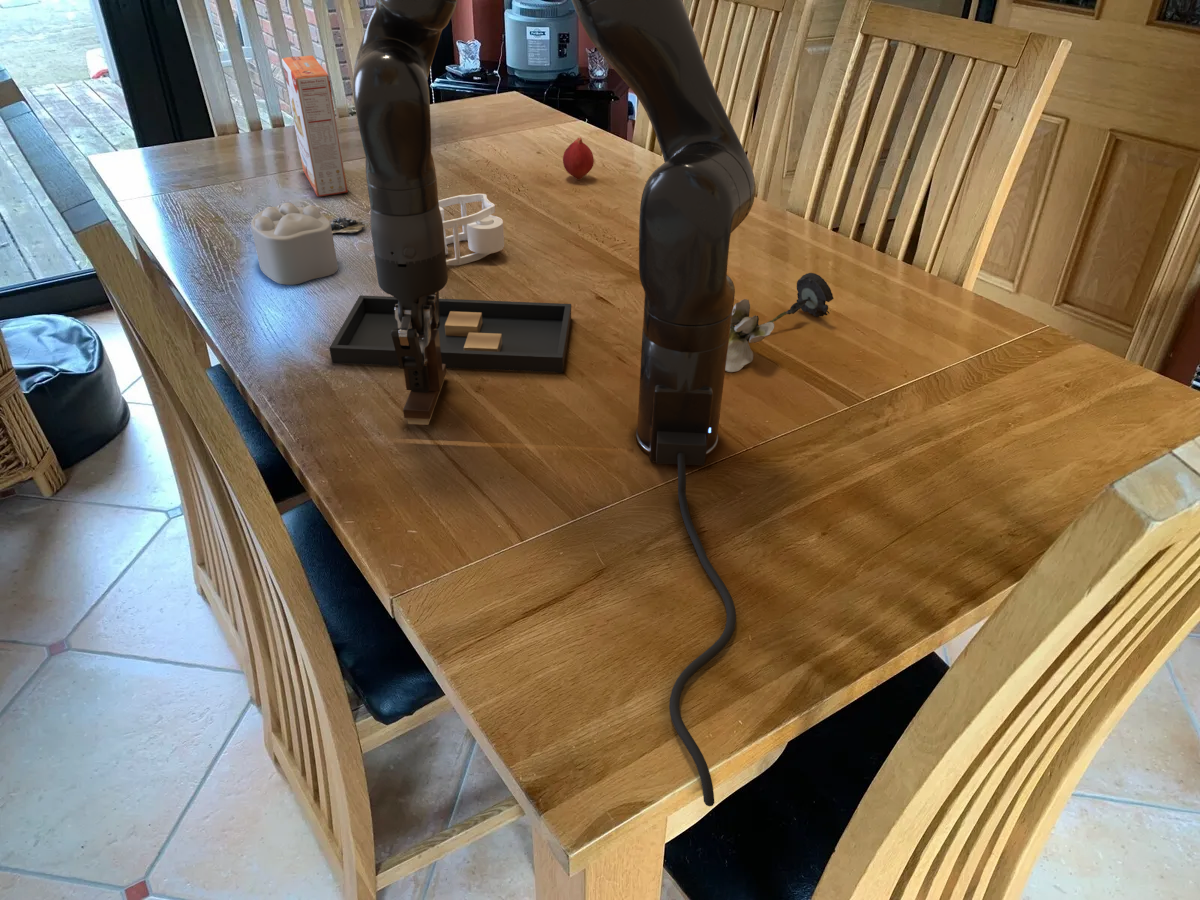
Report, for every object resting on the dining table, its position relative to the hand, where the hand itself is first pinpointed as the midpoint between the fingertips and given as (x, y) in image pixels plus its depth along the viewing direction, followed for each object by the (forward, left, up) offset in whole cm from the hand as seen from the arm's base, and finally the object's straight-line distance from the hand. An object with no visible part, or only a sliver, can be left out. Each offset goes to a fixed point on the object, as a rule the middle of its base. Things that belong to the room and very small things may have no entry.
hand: (424, 379), depth 106 cm
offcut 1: (+18, -2, -3) cm, 18 cm away
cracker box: (+72, +34, -4) cm, 80 cm away
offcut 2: (+12, -5, -3) cm, 14 cm away
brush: (0, 0, -4) cm, 4 cm away
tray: (+15, -1, -4) cm, 15 cm away
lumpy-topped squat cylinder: (+37, +28, -4) cm, 47 cm away
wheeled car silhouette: (+41, +5, -4) cm, 41 cm away
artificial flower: (+19, -43, -4) cm, 47 cm away
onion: (+79, -13, -4) cm, 80 cm away
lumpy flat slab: (+51, +25, -4) cm, 57 cm away
